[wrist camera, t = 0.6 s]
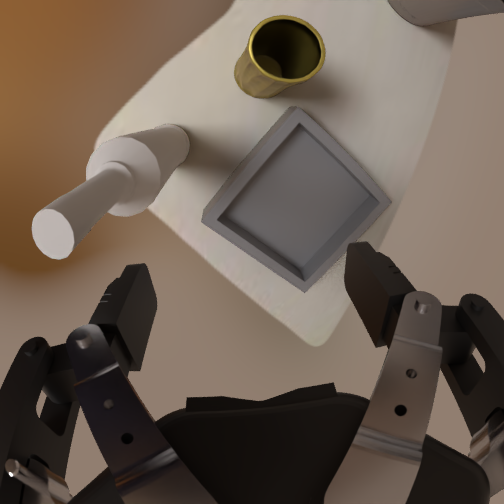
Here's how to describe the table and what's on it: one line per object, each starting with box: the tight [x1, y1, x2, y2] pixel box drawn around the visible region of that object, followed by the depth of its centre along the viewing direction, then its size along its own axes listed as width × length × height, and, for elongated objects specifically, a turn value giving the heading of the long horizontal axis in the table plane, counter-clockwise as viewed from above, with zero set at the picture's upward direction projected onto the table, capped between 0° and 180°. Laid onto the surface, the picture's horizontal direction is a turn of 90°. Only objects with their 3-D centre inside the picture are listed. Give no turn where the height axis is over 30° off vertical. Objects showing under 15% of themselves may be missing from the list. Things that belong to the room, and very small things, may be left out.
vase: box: [234, 15, 326, 98], centre depth 22 cm, size 6×6×14 cm
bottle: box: [32, 124, 190, 259], centre depth 20 cm, size 5×5×25 cm
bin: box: [201, 107, 391, 293], centre depth 33 cm, size 16×16×4 cm
